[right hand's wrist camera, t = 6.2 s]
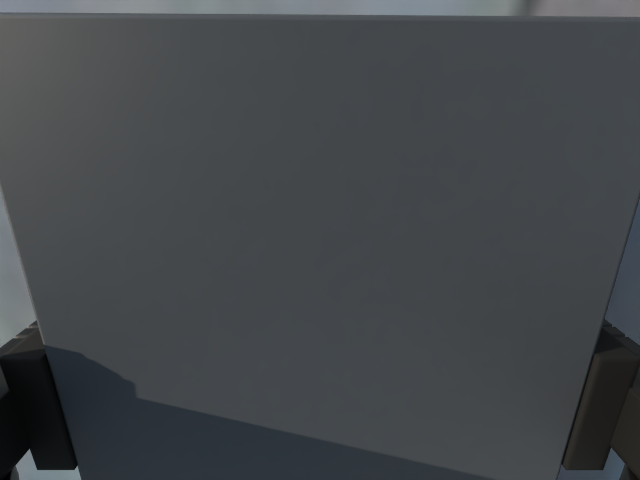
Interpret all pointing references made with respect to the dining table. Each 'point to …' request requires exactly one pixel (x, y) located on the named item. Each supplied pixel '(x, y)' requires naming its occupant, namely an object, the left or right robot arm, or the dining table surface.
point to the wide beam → (319, 235)
